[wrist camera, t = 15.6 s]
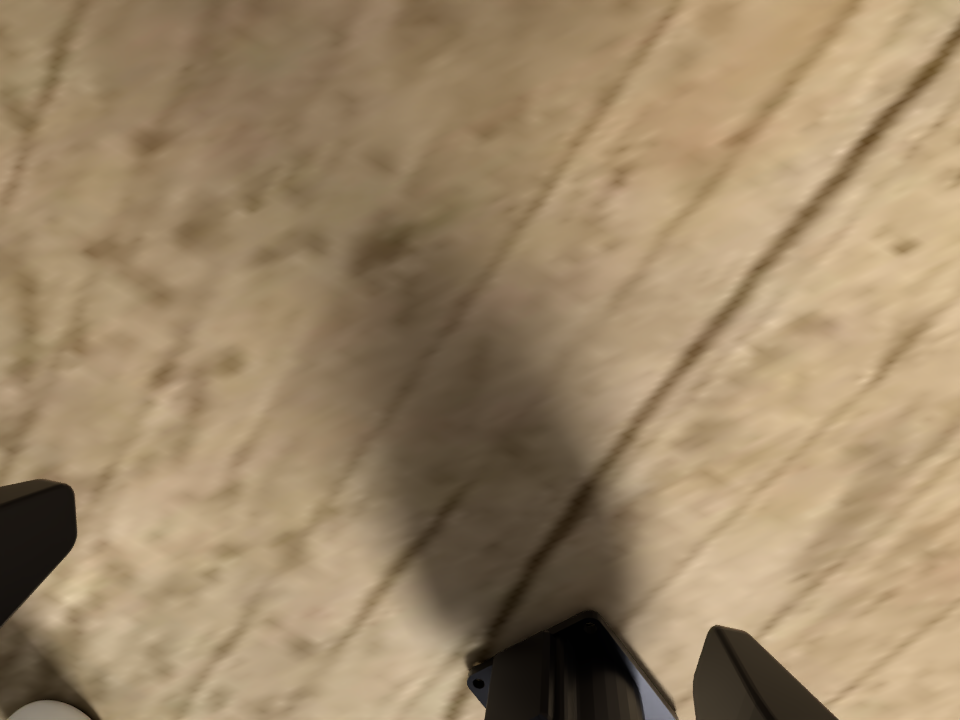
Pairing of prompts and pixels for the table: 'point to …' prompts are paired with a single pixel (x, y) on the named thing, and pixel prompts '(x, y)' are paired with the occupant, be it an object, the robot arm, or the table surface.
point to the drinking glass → (48, 711)
